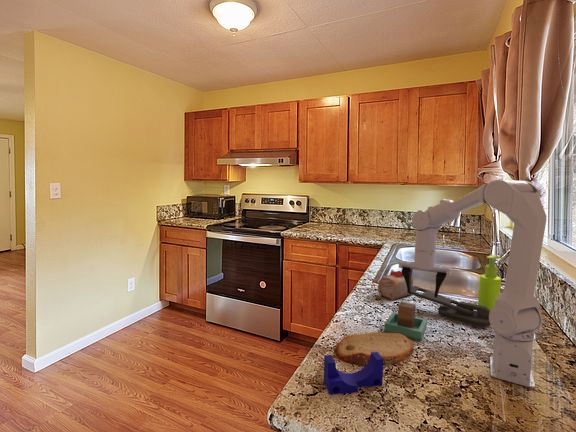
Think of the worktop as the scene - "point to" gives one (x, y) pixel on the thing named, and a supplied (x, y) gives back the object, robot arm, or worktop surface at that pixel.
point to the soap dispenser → (489, 284)
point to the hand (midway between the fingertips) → (422, 294)
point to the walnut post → (406, 314)
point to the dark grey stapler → (457, 309)
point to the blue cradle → (353, 375)
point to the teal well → (415, 333)
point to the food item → (393, 285)
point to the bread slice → (374, 348)
